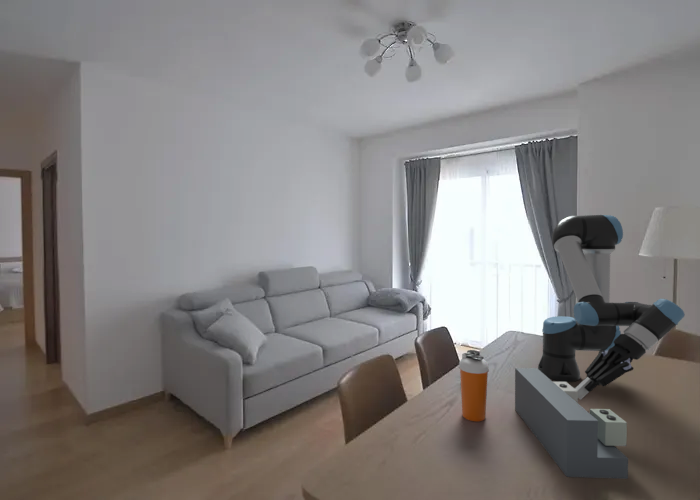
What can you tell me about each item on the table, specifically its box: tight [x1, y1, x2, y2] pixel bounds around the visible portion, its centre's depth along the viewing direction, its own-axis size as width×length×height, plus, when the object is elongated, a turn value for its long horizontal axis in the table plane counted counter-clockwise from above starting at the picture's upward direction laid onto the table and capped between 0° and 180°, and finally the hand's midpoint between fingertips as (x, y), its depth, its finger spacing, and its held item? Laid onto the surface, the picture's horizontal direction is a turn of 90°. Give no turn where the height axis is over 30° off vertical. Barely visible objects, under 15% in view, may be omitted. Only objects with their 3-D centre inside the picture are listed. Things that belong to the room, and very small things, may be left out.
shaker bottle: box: [458, 352, 490, 422], centre depth 119 cm, size 9×9×20 cm
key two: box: [589, 408, 628, 447], centre depth 96 cm, size 5×7×6 cm
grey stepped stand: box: [514, 367, 629, 480], centre depth 106 cm, size 14×34×14 cm, turn 176°
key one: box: [553, 381, 579, 404], centre depth 114 cm, size 5×7×6 cm
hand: (576, 395), depth 114 cm, fingers closed
